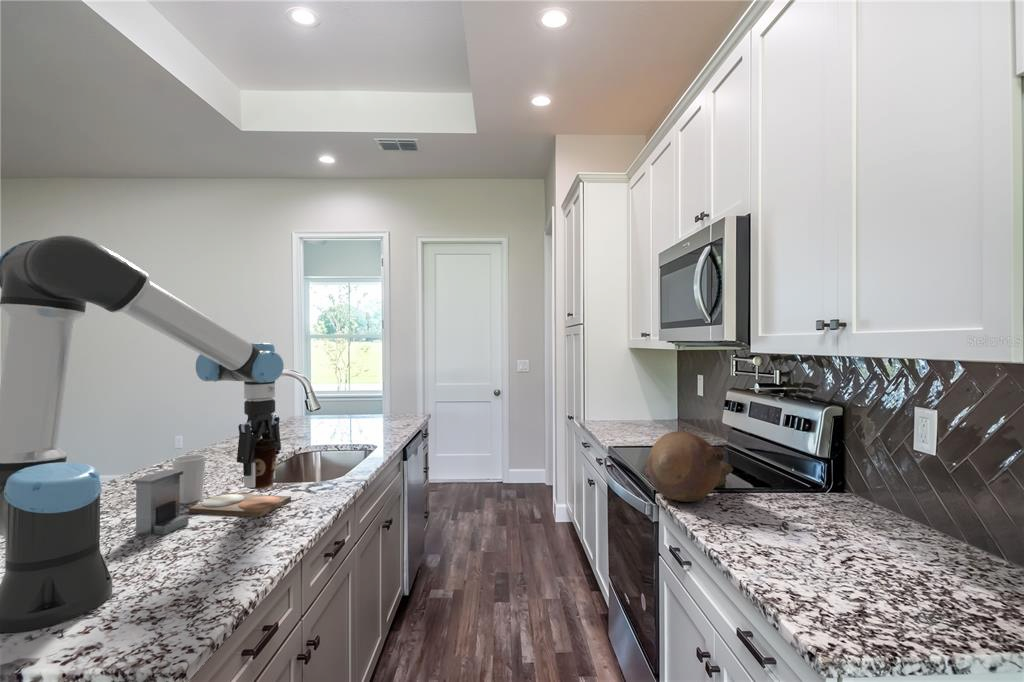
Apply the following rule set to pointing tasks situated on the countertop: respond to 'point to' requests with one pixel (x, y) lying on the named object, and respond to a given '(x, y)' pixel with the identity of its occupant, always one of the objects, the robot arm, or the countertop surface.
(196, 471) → the cup
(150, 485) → the miniature fireplace
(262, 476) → the coffee cup
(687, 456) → the jug
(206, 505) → the walnut board
